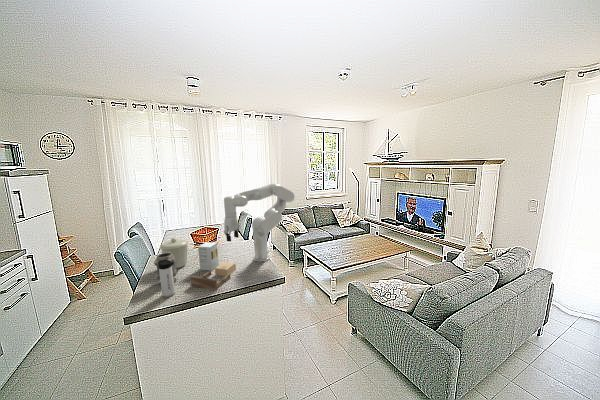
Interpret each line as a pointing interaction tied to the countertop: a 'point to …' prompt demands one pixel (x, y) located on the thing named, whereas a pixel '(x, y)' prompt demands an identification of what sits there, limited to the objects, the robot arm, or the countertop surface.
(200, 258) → the supplement box
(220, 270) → the kraft carton
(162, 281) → the travel mug
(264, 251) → the robot arm
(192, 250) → the countertop surface
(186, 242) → the canister
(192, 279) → the stand
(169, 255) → the apothecary jar
